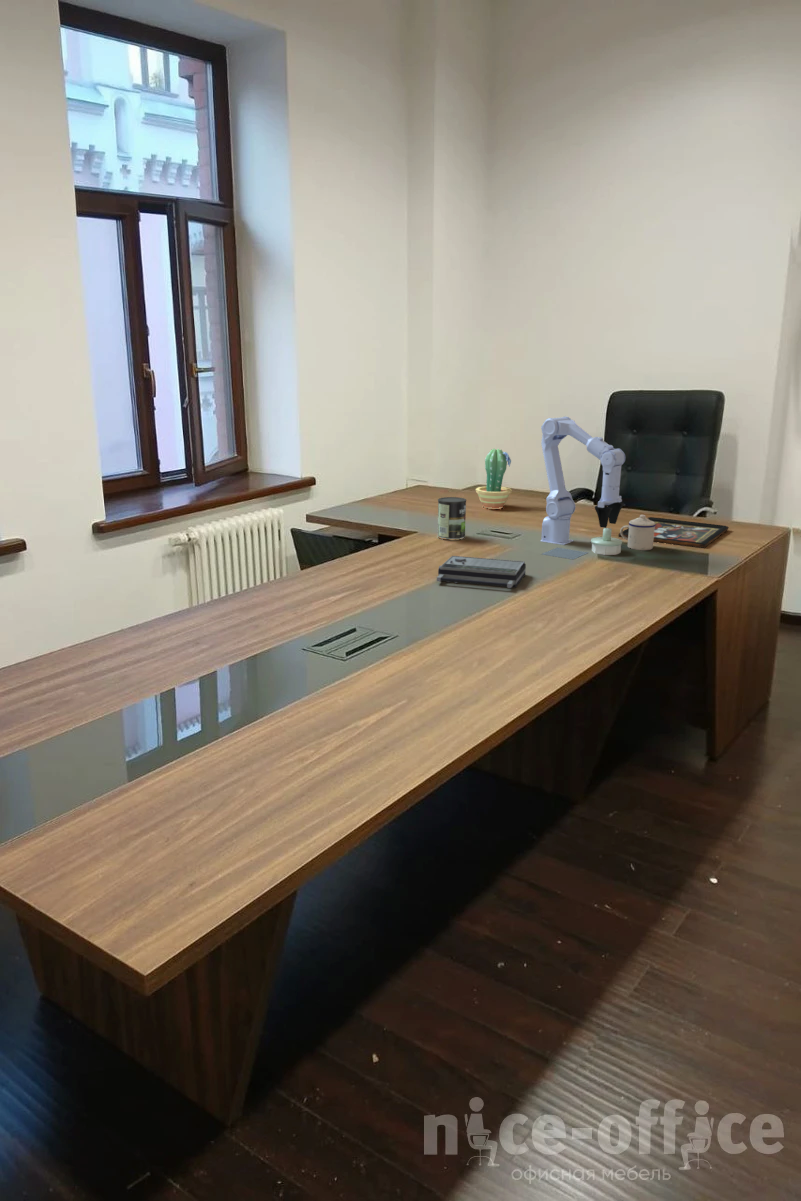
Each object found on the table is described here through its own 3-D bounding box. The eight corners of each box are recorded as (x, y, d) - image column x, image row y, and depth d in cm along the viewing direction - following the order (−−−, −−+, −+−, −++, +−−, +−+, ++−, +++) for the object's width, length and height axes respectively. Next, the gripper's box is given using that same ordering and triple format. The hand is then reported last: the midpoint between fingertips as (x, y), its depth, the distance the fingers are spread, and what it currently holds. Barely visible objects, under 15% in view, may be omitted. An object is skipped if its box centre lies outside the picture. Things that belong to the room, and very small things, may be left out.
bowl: (588, 553, 306) (588, 543, 305) (599, 548, 313) (600, 538, 312) (612, 557, 301) (613, 547, 300) (623, 552, 308) (624, 542, 307)
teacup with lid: (656, 546, 315) (659, 514, 312) (649, 552, 308) (652, 518, 305) (623, 542, 321) (625, 510, 318) (615, 547, 314) (617, 514, 311)
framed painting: (637, 521, 359) (637, 514, 358) (729, 530, 345) (730, 523, 344) (615, 541, 326) (616, 534, 326) (716, 553, 312) (717, 545, 311)
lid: (586, 543, 304) (587, 530, 303) (596, 537, 313) (597, 524, 311) (616, 547, 299) (617, 533, 298) (625, 541, 308) (627, 527, 306)
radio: (526, 559, 278) (513, 575, 260) (525, 575, 279) (512, 592, 261) (450, 552, 285) (433, 568, 267) (450, 568, 287) (432, 585, 268)
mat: (540, 555, 303) (540, 554, 303) (557, 548, 312) (557, 547, 312) (573, 560, 296) (573, 559, 296) (588, 553, 305) (589, 552, 305)
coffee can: (468, 535, 331) (469, 497, 327) (461, 541, 322) (462, 502, 318) (441, 533, 334) (442, 496, 330) (433, 539, 325) (434, 500, 321)
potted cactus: (501, 512, 372) (503, 452, 365) (468, 508, 380) (470, 449, 373) (517, 506, 385) (520, 448, 377) (485, 503, 393) (487, 445, 385)
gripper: (613, 489, 292) (610, 530, 296) (630, 484, 303) (627, 523, 307) (593, 487, 296) (590, 527, 300) (611, 481, 307) (608, 520, 311)
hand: (607, 525), depth 304 cm, fingers open, 7 cm apart
